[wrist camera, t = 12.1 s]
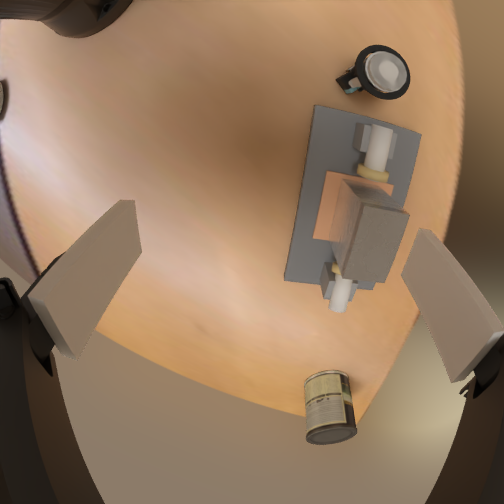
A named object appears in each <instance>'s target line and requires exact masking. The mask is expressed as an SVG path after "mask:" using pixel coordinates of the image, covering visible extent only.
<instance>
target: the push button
mask: <svg viewBox="0 0 504 504" xmlns="http://www.w3.org/2000/svg"><path fill="white" fill-rule="evenodd" d="M370 53H373V54H371V55H370V56H369V57H368V58H366V56H367V55H368V54H370ZM365 58H366V59H365ZM347 70H350V72H348V73H347V74H345V75H342V76H341V77H339V78H337V79H336V81H337V82H338V83H339V85H340V86H341V87H342V89H343V90H344V91H345V92H346V94H348V93H352V92H354V91H356V90H357V89H358V91H359V92H361V91H362V90H366V91H367V92H369V93H370V94H372V95H373V96H375V97H377V98H380V99H386V100H392V99H397V98H399V97H401V96H402V95H403V94H404V93H405V92H406V91H407V89H408V87H409V84H410V72H409V68H408V66H407V64H406V62H405V60H404V59H403V58H402V57H401V55H400V54H399V53H397V52H396V51H395V50H393V49H391V48H389V47H387V46H383V45H372V46H369V47H367V48H365V49H363V50H362V51H361V52H360V53H359V55H358V57H357V59H356V62H355V65H354V66H352V67H350V68H349V69H347ZM347 70H346V71H347ZM380 91H385V92H389V93H382V92H380Z"/></svg>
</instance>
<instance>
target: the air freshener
mask: <svg viewBox="0 0 504 504" xmlns="http://www.w3.org/2000/svg"><path fill="white" fill-rule="evenodd" d="M2 105H3V87H2V84H1V82H0V113H1V109H2Z"/></svg>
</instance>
